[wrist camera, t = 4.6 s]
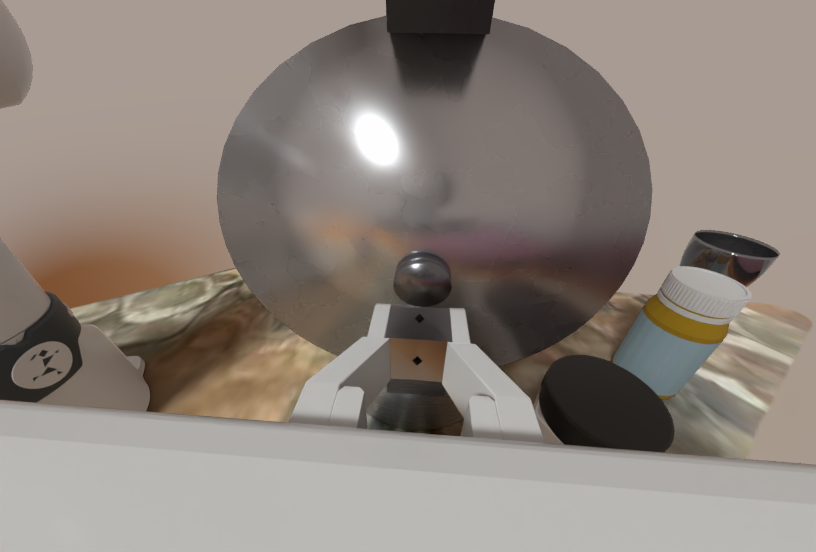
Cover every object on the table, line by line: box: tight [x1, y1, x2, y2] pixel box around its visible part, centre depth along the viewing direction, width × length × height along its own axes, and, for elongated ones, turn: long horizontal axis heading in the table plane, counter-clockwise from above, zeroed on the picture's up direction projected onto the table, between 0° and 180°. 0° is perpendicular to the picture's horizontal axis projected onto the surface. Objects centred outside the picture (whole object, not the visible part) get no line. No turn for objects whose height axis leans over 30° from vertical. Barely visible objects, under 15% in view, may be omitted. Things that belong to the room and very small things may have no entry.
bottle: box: [611, 266, 752, 399], centre depth 33 cm, size 7×7×15 cm
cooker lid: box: [217, 0, 652, 366], centre depth 14 cm, size 21×24×2 cm
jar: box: [533, 355, 674, 453], centre depth 24 cm, size 9×8×12 cm
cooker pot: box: [366, 379, 464, 430], centre depth 35 cm, size 27×21×12 cm
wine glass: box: [680, 230, 780, 287], centre depth 41 cm, size 8×8×15 cm
